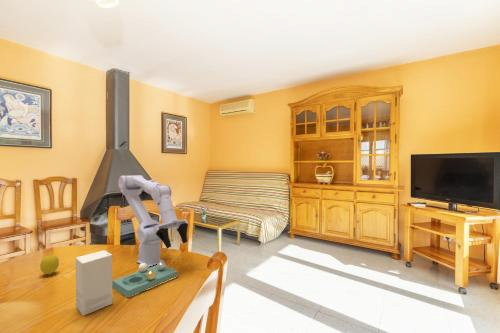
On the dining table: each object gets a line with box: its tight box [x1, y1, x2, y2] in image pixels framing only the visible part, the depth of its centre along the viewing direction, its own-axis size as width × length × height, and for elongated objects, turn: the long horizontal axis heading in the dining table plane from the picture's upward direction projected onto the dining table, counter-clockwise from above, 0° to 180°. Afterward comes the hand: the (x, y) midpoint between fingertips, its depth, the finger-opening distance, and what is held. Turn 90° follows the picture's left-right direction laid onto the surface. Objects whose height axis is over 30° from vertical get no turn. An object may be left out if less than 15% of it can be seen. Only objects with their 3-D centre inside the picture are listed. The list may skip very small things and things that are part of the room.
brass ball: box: [146, 270, 156, 280], centre depth 87 cm, size 3×3×3 cm
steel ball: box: [157, 261, 167, 271], centre depth 95 cm, size 3×3×3 cm
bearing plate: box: [112, 265, 179, 298], centre depth 90 cm, size 19×11×2 cm, turn 143°
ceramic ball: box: [138, 263, 149, 272], centre depth 94 cm, size 3×3×3 cm
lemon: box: [39, 253, 60, 275], centre depth 95 cm, size 6×6×8 cm
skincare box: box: [75, 249, 113, 317], centre depth 75 cm, size 8×7×16 cm
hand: (177, 245), depth 97 cm, fingers open, 7 cm apart
